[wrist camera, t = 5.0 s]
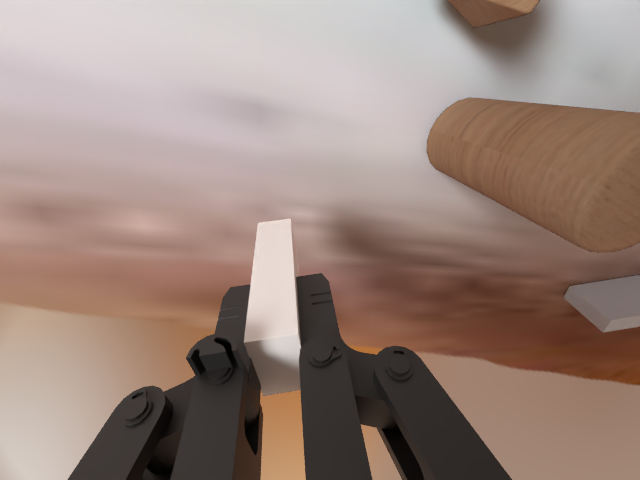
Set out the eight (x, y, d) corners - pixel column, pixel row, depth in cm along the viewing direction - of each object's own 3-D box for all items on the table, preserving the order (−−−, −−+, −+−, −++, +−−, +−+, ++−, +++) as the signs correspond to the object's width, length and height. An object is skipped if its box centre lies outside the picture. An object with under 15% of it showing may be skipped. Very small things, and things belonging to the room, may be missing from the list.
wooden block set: (636, 140, 19) (946, 192, 10) (534, 241, 22) (708, 349, 13) (456, -83, 13) (875, -452, 4) (344, 101, 16) (438, 130, 7)
